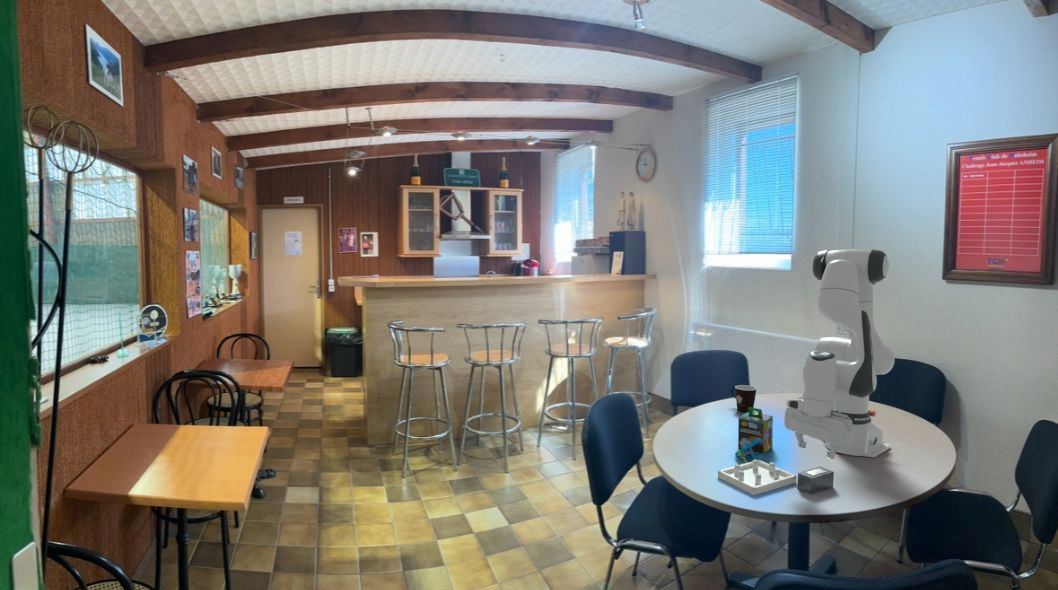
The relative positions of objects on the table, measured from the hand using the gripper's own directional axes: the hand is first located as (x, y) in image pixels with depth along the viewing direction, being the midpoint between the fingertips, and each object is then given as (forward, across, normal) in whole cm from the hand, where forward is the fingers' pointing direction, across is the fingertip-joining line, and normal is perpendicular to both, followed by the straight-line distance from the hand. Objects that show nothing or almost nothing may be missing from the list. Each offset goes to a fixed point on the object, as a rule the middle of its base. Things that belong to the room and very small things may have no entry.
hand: (816, 452), depth 167 cm
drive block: (+11, 0, -1) cm, 11 cm away
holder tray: (+11, +12, +10) cm, 19 cm away
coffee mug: (+10, +65, -43) cm, 79 cm away
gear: (+11, +26, -1) cm, 28 cm away
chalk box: (+11, +31, -11) cm, 35 cm away
